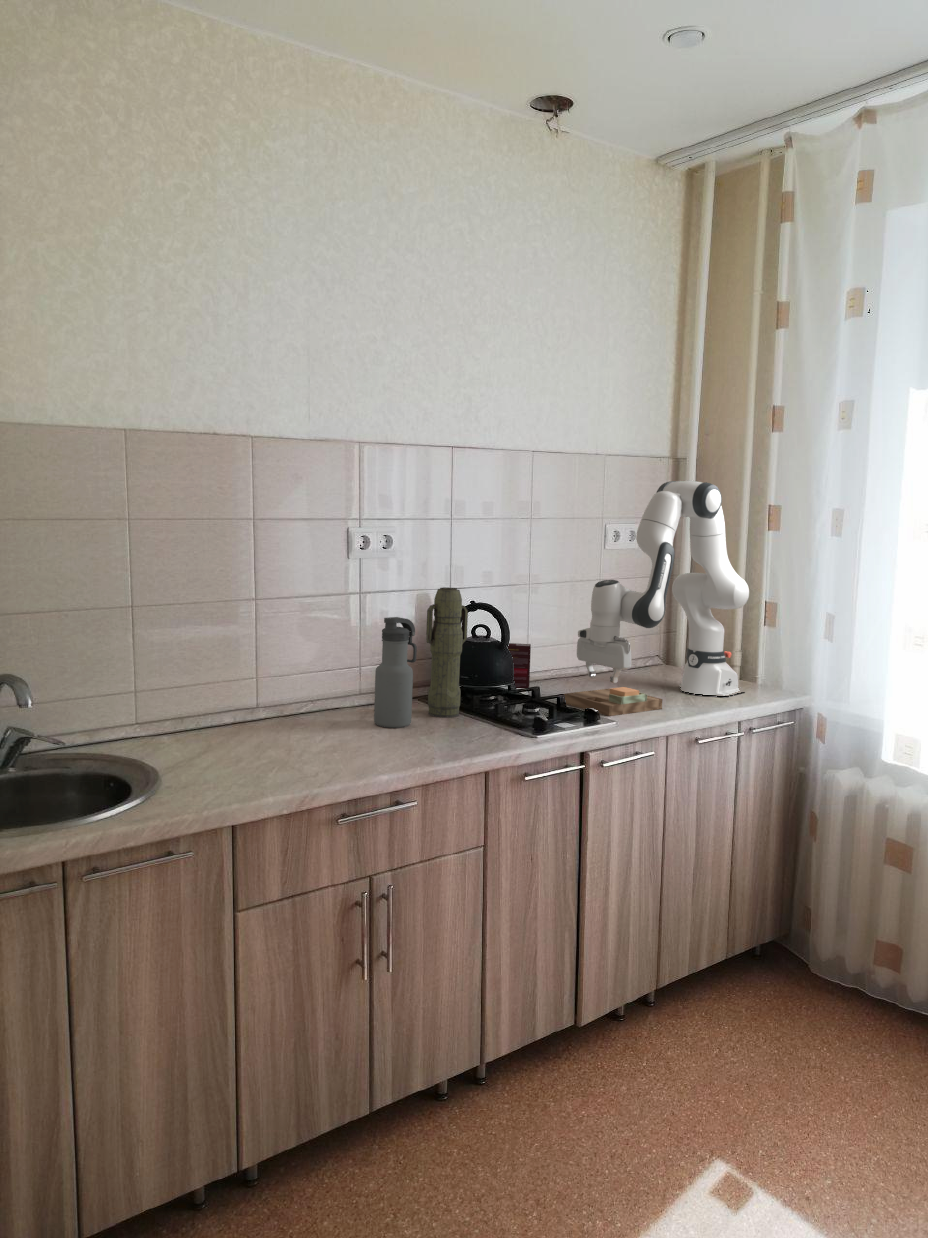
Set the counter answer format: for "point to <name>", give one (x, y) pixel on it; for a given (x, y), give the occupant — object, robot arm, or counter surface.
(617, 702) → the board
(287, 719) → the counter surface
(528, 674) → the supplement box
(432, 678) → the thermos
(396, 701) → the water bottle
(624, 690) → the block
